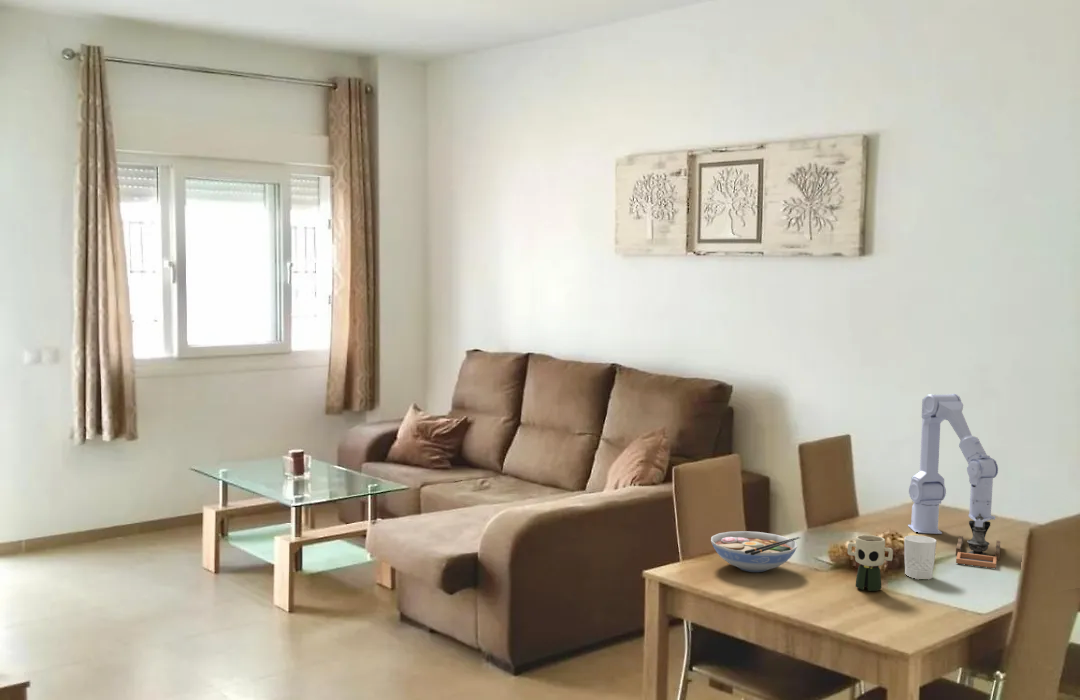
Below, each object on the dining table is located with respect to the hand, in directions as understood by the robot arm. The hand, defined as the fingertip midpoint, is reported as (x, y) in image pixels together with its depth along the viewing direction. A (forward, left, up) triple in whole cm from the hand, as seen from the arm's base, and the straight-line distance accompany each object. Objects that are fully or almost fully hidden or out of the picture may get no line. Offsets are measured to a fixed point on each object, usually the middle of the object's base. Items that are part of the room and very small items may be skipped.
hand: (978, 546), depth 295 cm
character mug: (+43, -41, -2) cm, 59 cm away
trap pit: (+13, -5, -1) cm, 14 cm away
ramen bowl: (+29, -68, -2) cm, 74 cm away
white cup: (+29, -25, -2) cm, 38 cm away
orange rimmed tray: (0, 0, -1) cm, 1 cm away
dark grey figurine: (+4, -1, -2) cm, 4 cm away
